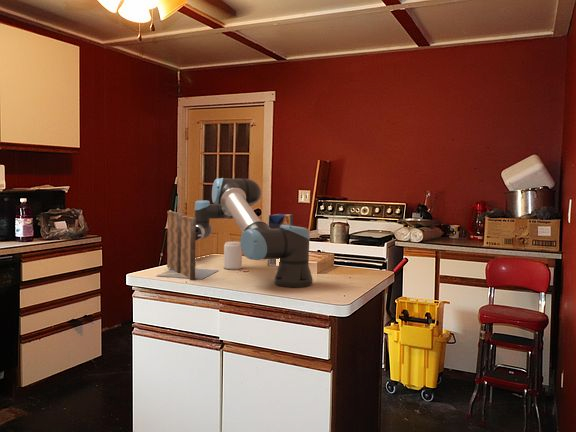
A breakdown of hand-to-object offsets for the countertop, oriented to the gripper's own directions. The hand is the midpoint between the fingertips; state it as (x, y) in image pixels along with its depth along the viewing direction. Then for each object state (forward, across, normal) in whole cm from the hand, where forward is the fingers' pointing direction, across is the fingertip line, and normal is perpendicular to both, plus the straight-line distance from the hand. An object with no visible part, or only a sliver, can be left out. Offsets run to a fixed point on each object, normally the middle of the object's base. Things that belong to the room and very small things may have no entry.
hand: (174, 238), depth 234 cm
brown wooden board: (+7, -3, -13) cm, 15 cm away
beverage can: (-7, -25, -14) cm, 30 cm away
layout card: (+11, -11, -13) cm, 20 cm away
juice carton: (-25, -43, -14) cm, 52 cm away
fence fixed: (+17, -13, -13) cm, 25 cm away
